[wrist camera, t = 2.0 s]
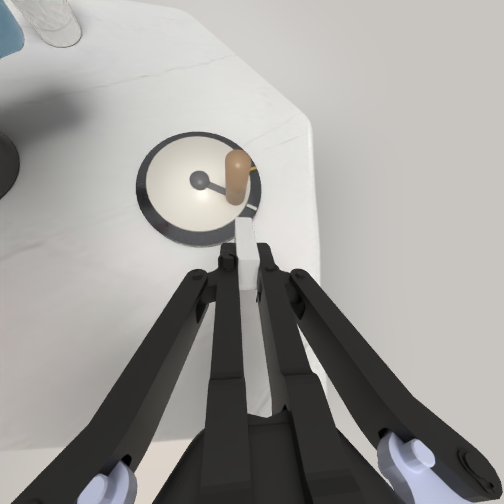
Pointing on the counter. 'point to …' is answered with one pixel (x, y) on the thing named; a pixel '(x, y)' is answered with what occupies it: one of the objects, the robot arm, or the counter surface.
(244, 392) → the robot arm
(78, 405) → the counter surface
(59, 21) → the white cup
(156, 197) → the dial
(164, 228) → the dial base
